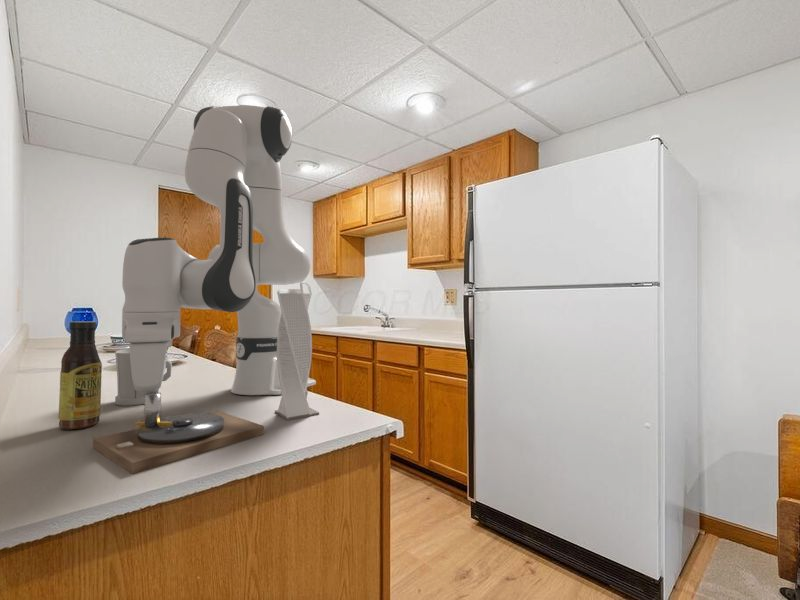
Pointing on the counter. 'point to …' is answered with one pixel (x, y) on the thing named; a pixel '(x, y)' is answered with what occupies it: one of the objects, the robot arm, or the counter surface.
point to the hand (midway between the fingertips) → (151, 406)
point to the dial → (174, 424)
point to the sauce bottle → (80, 379)
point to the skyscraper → (294, 353)
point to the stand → (171, 444)
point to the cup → (130, 380)
